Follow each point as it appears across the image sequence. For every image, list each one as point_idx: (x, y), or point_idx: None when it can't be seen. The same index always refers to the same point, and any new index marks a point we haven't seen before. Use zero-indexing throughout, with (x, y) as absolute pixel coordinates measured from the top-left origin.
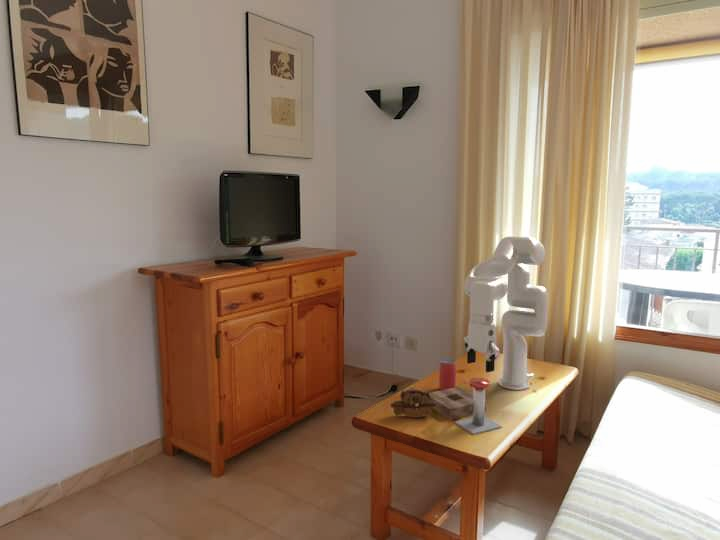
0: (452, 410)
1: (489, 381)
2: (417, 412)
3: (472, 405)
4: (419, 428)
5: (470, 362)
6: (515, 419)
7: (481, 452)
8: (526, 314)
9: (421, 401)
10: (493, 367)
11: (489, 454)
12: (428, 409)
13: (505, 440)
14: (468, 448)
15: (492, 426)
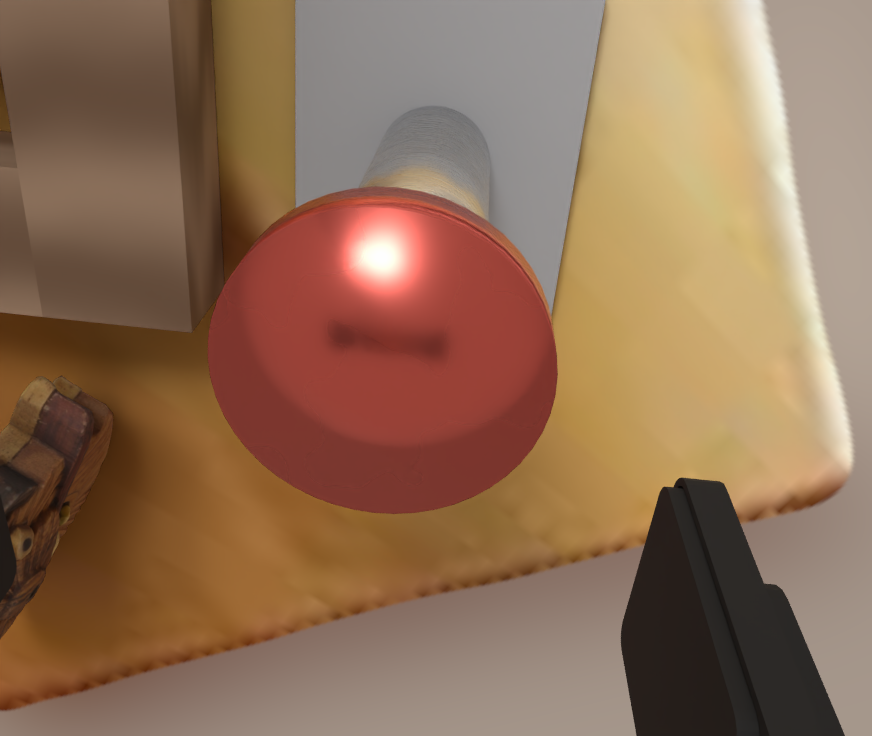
0: (195, 299)
1: (483, 245)
2: (80, 497)
3: (176, 40)
4: (254, 541)
5: (2, 547)
6: None
7: (773, 456)
8: None
9: (48, 544)
10: (789, 628)
11: (832, 435)
12: (94, 445)
13: (792, 173)
14: (672, 483)
15: (555, 89)
